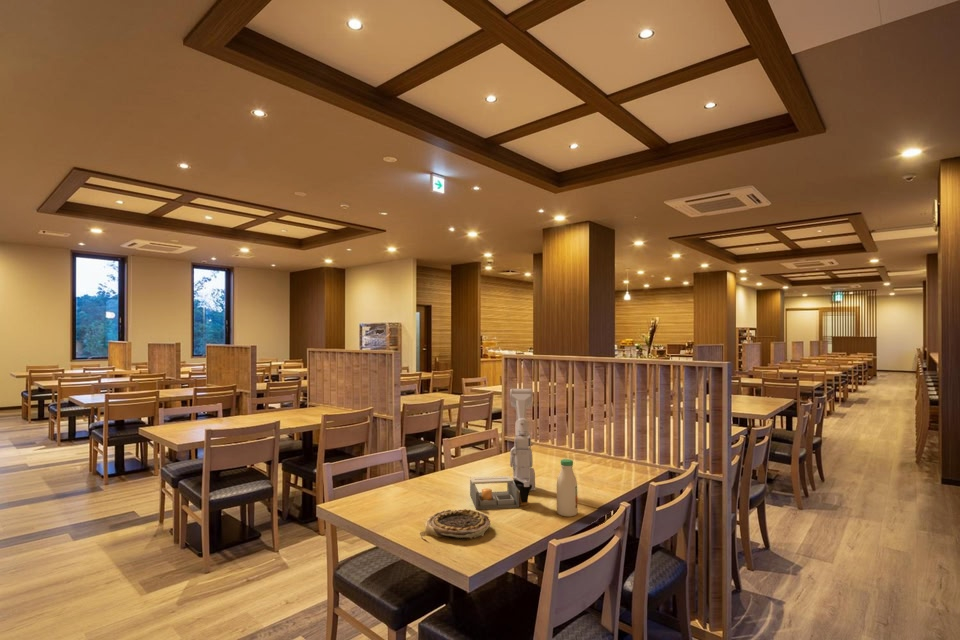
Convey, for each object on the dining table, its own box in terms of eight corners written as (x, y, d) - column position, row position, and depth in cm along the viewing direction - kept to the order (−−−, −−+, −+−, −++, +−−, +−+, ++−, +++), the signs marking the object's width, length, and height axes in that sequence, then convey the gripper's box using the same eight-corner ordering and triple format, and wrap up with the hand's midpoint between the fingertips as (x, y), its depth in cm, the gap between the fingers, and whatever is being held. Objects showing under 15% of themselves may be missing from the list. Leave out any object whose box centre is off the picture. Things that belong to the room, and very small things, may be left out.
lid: (509, 477, 214) (509, 475, 214) (512, 482, 206) (512, 480, 206) (470, 479, 211) (470, 477, 211) (472, 484, 204) (472, 481, 204)
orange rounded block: (526, 501, 203) (526, 489, 203) (528, 505, 199) (528, 492, 199) (516, 502, 202) (516, 489, 202) (518, 505, 198) (518, 492, 198)
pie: (478, 513, 190) (478, 500, 191) (515, 540, 166) (515, 525, 166) (407, 525, 178) (408, 511, 178) (436, 556, 153) (437, 540, 154)
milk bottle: (572, 518, 184) (572, 463, 184) (553, 514, 188) (553, 460, 189) (580, 512, 190) (580, 459, 191) (561, 508, 194) (561, 456, 195)
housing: (509, 493, 213) (509, 477, 214) (519, 507, 195) (519, 490, 196) (470, 495, 211) (470, 479, 211) (476, 509, 193) (476, 492, 193)
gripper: (509, 461, 207) (509, 494, 207) (516, 470, 193) (516, 506, 193) (525, 461, 208) (525, 494, 208) (534, 470, 194) (534, 505, 194)
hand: (522, 500), depth 200 cm, fingers open, 5 cm apart
